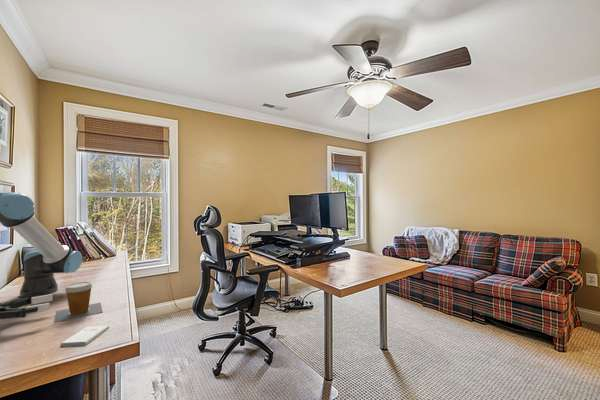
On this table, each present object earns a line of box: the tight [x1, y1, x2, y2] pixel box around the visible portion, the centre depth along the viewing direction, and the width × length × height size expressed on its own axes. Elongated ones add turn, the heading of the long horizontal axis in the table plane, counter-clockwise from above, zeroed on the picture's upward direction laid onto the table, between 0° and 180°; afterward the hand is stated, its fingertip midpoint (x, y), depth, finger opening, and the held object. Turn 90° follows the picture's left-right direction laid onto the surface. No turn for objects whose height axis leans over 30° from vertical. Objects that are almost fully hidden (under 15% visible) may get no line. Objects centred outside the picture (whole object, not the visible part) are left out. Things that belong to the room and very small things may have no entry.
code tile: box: [53, 302, 103, 324], centre depth 121 cm, size 15×16×1 cm
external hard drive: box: [59, 325, 110, 347], centre depth 98 cm, size 2×8×12 cm
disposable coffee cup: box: [64, 281, 93, 315], centre depth 121 cm, size 10×10×12 cm
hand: (51, 301), depth 115 cm, fingers open, 13 cm apart
